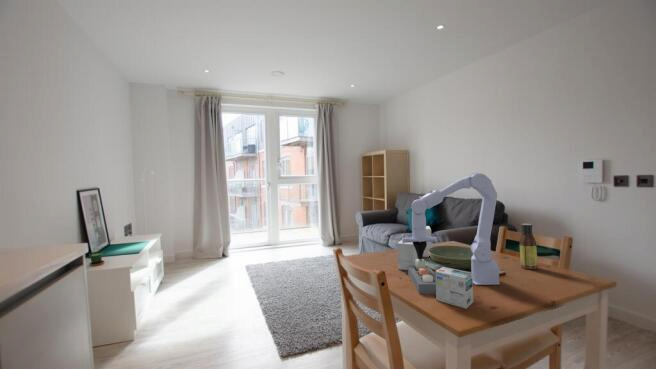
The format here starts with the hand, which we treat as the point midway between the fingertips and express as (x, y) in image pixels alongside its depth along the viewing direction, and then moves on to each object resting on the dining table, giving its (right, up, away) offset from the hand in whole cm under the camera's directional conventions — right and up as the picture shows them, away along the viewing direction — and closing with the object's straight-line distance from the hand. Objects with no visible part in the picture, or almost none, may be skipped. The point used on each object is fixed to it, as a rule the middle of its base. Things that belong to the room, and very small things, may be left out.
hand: (419, 258), depth 126 cm
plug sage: (0, -5, 0) cm, 5 cm away
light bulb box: (+5, -9, -23) cm, 25 cm away
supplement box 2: (+12, -6, +33) cm, 36 cm away
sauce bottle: (+51, -6, +6) cm, 52 cm away
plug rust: (0, -7, -6) cm, 9 cm away
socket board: (0, -8, -6) cm, 10 cm away
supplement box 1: (-2, -8, +13) cm, 15 cm away
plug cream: (-1, -8, -12) cm, 14 cm away
